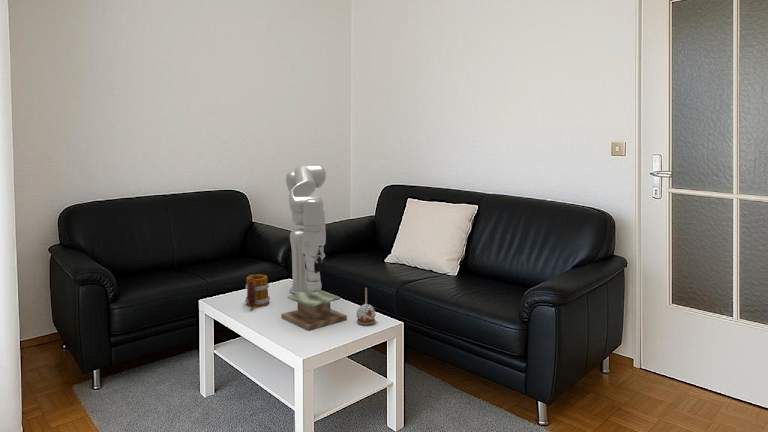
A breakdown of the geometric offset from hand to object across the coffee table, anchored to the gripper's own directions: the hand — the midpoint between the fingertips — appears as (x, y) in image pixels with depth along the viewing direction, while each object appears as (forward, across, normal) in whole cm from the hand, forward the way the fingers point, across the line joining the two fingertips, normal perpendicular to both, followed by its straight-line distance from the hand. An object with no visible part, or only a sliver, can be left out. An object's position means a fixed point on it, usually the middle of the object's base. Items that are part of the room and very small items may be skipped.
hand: (313, 269), depth 254 cm
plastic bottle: (+10, 0, 0) cm, 10 cm away
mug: (+22, -33, -9) cm, 41 cm away
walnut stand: (+22, 0, 0) cm, 22 cm away
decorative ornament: (+22, +18, +14) cm, 32 cm away
